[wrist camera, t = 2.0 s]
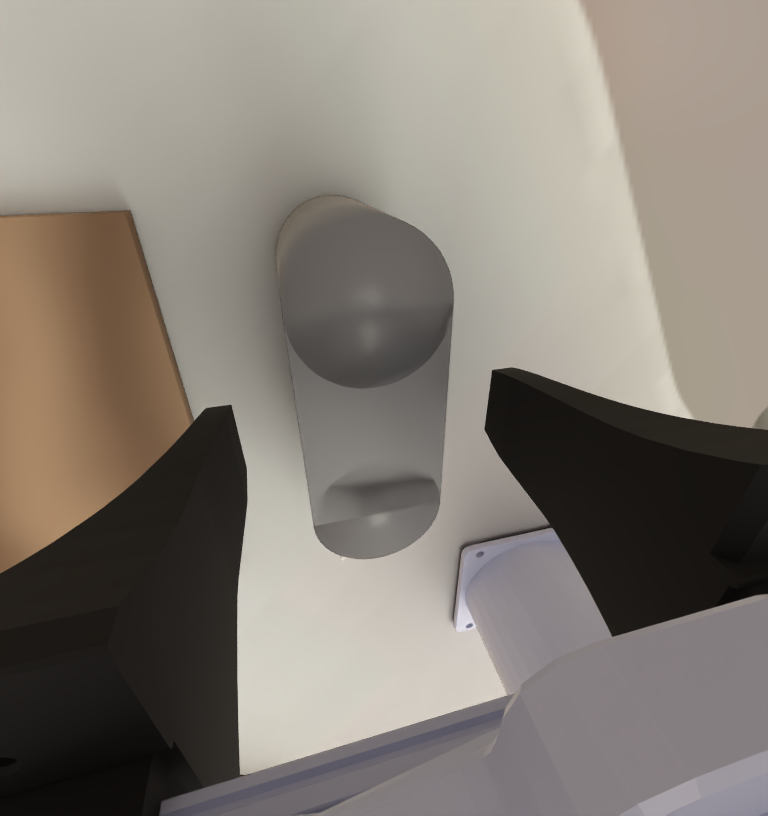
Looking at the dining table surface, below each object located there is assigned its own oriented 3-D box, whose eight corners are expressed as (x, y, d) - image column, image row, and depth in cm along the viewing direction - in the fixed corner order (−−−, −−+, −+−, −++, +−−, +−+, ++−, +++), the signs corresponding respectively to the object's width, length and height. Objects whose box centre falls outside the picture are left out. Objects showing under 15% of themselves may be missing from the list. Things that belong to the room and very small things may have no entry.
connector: (389, 192, 14) (459, 210, 9) (392, 471, 20) (434, 575, 15) (266, 197, 13) (268, 220, 8) (308, 486, 19) (324, 600, 14)
